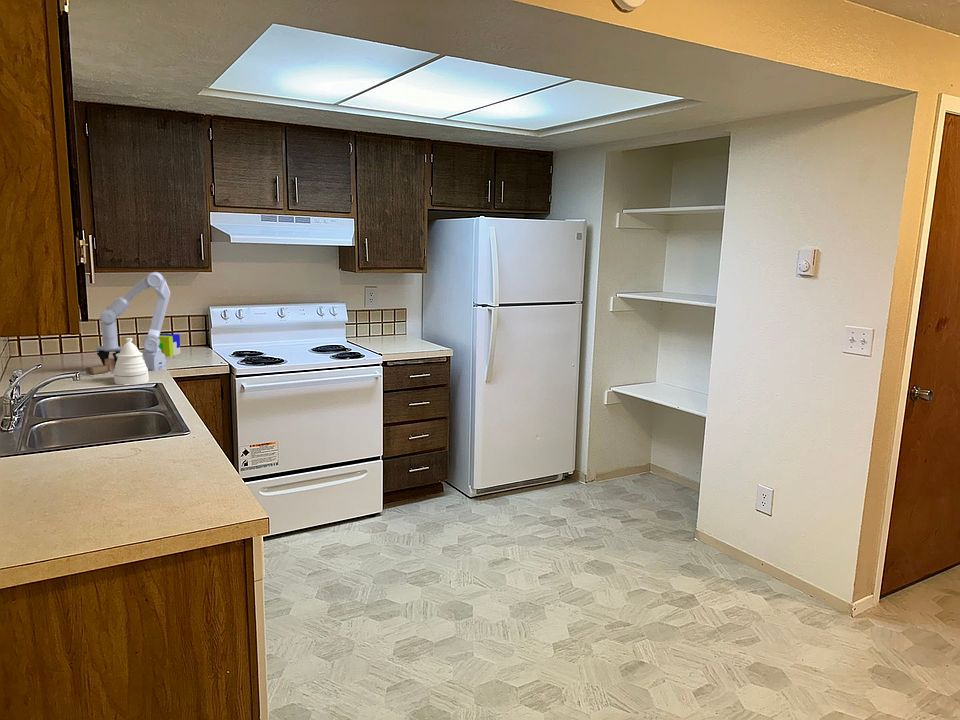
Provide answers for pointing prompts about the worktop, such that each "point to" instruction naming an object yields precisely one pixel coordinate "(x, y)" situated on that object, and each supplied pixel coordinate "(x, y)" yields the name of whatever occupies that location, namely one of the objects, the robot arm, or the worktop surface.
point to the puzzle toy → (169, 344)
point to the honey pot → (130, 365)
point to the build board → (96, 375)
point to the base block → (96, 369)
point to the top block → (110, 364)
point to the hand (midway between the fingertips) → (112, 367)
